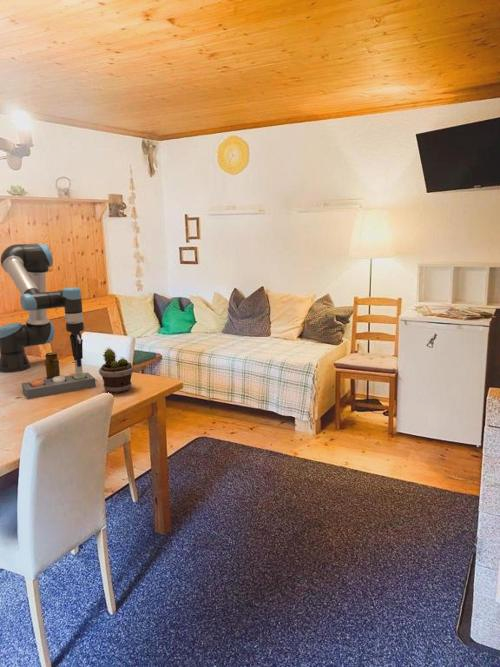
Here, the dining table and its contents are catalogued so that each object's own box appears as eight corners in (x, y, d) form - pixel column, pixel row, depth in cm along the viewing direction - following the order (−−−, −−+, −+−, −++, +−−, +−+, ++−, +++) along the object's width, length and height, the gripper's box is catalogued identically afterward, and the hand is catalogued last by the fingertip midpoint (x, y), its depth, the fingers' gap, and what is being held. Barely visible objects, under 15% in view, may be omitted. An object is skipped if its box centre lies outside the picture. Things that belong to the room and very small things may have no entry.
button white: (52, 384, 222) (51, 377, 222) (63, 382, 225) (63, 375, 224) (54, 387, 218) (54, 379, 218) (66, 385, 221) (65, 377, 220)
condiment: (58, 374, 246) (56, 351, 243) (64, 378, 239) (62, 354, 237) (43, 377, 241) (40, 353, 239) (48, 381, 235) (46, 356, 232)
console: (22, 391, 219) (21, 383, 218) (88, 380, 235) (87, 372, 234) (27, 399, 209) (26, 390, 209) (95, 386, 225) (95, 378, 224)
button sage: (72, 381, 227) (72, 373, 227) (83, 379, 230) (83, 372, 229) (75, 383, 223) (74, 376, 222) (86, 381, 226) (86, 374, 225)
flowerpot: (142, 388, 222) (139, 344, 218) (117, 397, 210) (113, 352, 205) (118, 383, 230) (115, 341, 226) (93, 392, 217) (89, 348, 213)
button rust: (30, 388, 218) (30, 380, 217) (42, 386, 220) (42, 378, 220) (33, 391, 213) (32, 383, 213) (45, 389, 216) (44, 381, 215)
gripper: (62, 321, 224) (67, 371, 229) (69, 325, 214) (74, 377, 218) (79, 319, 228) (83, 368, 233) (87, 323, 218) (91, 374, 222)
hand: (79, 372), depth 226 cm, fingers closed
